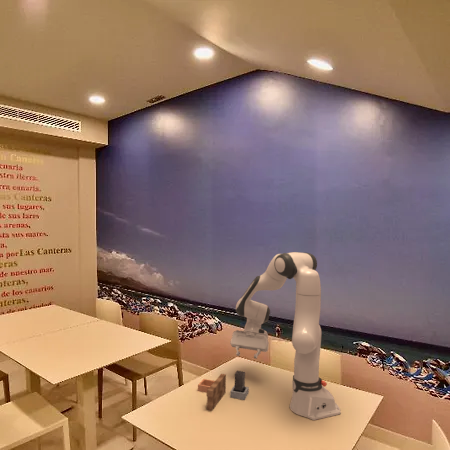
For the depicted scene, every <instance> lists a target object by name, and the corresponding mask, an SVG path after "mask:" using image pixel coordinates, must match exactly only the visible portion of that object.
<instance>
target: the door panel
mask: <svg viewBox="0 0 450 450" xmlns="http://www.w3.org/2000/svg"><path fill="white" fill-rule="evenodd" d="M226 378H227V373H226V374H225V373H221V374H220V375H219V376H218V377H216V379H215V380H214V381H215V382H214V383H213V384H212V385H211V386H210V388H209V389H208V390H207V393H206V410H207V411H210V412H212V411H213V410H214V409H215V408H216V407H217V405H218V404H219V402H220V401H221V399H222V398H223V397H224V395H225V394H226V391H227V390H226V389H227V388H226V387H227V386H226V385H227V384H226V383H227V381H226V380H227V379H226Z"/></svg>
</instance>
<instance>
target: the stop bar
mask: <svg viewBox="0 0 450 450" xmlns="http://www.w3.org/2000/svg"><path fill="white" fill-rule="evenodd" d="M234 385H235V389H234V391H237V392H242V393H244V391H245V387H246V371H241V370H236V372H235V373H234Z"/></svg>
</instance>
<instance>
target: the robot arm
mask: <svg viewBox="0 0 450 450" xmlns="http://www.w3.org/2000/svg"><path fill="white" fill-rule="evenodd" d="M274 255H275V254H274ZM317 267H318V260H317V257H316V256H315V255H314V254H313V253H309V252H297V251H294V252H293V251H292V252H284V253H277V254H276V255H275V256H273V258H272V259H271V260H270V262H269V264H268V266H267V267H266V270H265V271H264V272H263V273H262V274H261V275H256V276H255V278H254V279H253V280H252V282H251V283H250V284H249V286H248V287H247V288H246V289H245V291H244V293H243V294H242V295H241V297H240V298H239V300H238V301H237V302H236V305H235V312H236V314H237V315H238V317H243V318H246V322H245V325H244V329H243V330H239V329H236V330H235V331H233V332H232V335H231V339H230V345H231V347H232V348H235V351H236V353H235V355H236V356H237V357H240V356H241V351H239V350H240V349H243V350H244V349H245V350H249V351H251V350H252V351H255V352H256V351H257V352H256V353H254V355H253V358H254V359H258V357H259V356H260V354H261V352H264V353H267V352H268V351H269V334H268V332H267V331H266V330H265V329H263V328H262V325H263V324H265V323H268V321H269V319H270V314H271V309H270V307H269V306H268V305H267V304H265V303H262V302H258V301H255V300H252V298H253V296H254V295H255V294H256V292H259V291H272V292H273V291H277V290H280V289H281V288H282V287H283V286H284V285H285V283H286V281H287V279H288V280H292V279H294V281H295V307H294V308H295V311H294V317H293V318H294V319H293V326H292V327H293V328H292V336H291V344H292V346H293V348H294V350H295V352H294V359H293V361H294V363H293V365H294V367H293V375H292V395H291V399H290V403H289V408H290V410H291V411H292V412H293V413H294V414H296V415H298V416H301V417H305V418H307V419H309V420H312V421H316V420H321V419H325V418H329V417H334V416H337V415H341V413H342V412H341V408H340V406H339V405H338V404H337V402H336V401H335V397H334V395H333V394H332V393H331V391H330V390H328V389H327V388H326V386H327V385H328V384H327V383H328V382H326V381H325V380H323V379H322V378H321V377H320V375H319V374H320V358H321V357H320V356H321V346H322V328H321V325H320V317H321V306H322V305H321V303H322V302H321V301H322V299H321V298H322V297H321V296H322V295H321V294H322V293H321V292H322V287H321V286H322V285H321V279H320V278H321V277H320V275H319V272H318V271H316V269H317Z"/></svg>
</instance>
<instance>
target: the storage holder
mask: <svg viewBox="0 0 450 450" xmlns="http://www.w3.org/2000/svg"><path fill="white" fill-rule="evenodd" d="M249 388H250V387H249V386H245V391H244V393H242V392H237V391H234V389H235V384H234V385H233V386H232V388H231V389H230V392H229V395H230V396H229V398H232V399H236V400H242V401H245V400H246V399H247V396H248V395H249V393H250V392H249V391H250V389H249Z"/></svg>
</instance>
